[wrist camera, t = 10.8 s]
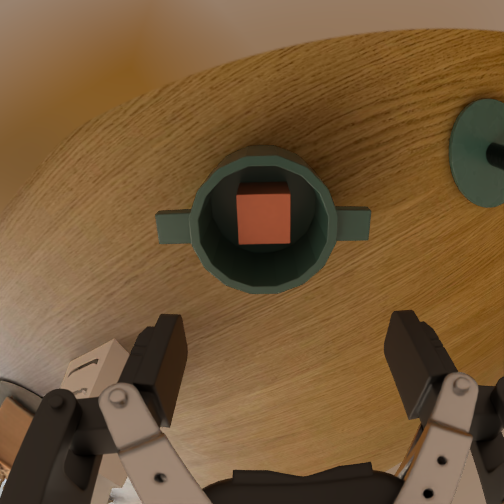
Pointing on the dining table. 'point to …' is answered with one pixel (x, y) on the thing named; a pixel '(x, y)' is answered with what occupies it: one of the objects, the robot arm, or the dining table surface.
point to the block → (264, 213)
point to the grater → (94, 383)
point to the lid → (479, 152)
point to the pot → (263, 255)
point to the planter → (14, 422)
